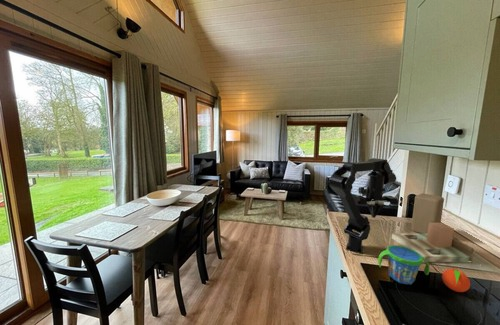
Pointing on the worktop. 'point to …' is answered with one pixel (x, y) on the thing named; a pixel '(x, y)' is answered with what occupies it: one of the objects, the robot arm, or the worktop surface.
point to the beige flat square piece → (435, 248)
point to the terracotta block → (440, 235)
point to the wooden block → (426, 212)
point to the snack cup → (403, 263)
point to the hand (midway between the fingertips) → (373, 217)
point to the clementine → (456, 280)
